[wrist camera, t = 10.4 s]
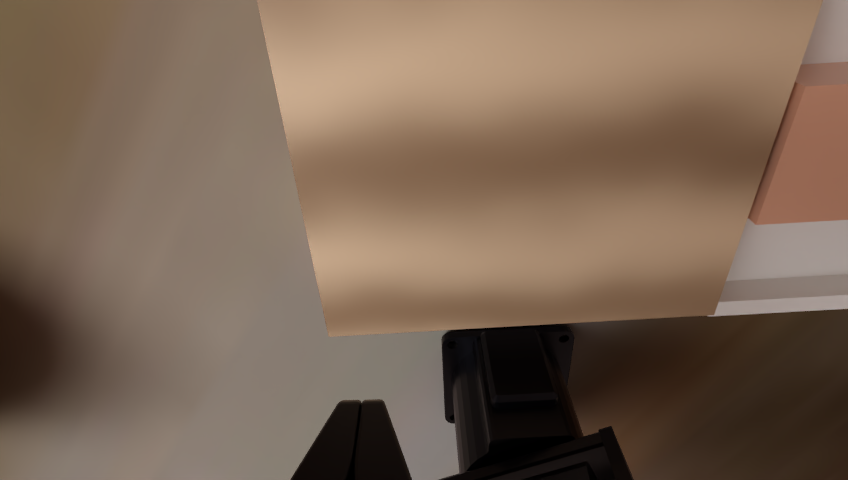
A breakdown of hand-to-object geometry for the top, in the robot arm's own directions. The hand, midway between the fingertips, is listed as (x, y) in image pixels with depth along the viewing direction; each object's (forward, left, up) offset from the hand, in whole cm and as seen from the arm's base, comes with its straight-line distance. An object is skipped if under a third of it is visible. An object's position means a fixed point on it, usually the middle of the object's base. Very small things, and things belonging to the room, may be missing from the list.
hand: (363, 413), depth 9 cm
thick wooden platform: (+1, -5, -12) cm, 13 cm away
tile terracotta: (0, -16, -11) cm, 20 cm away
